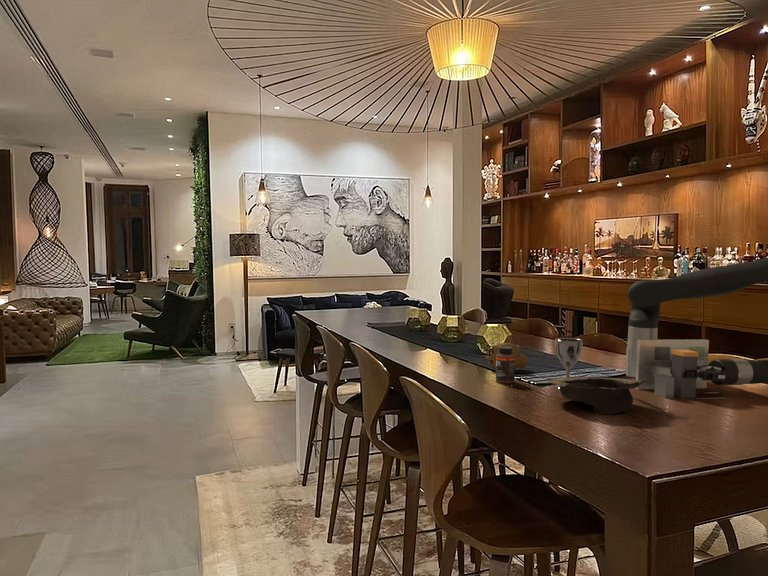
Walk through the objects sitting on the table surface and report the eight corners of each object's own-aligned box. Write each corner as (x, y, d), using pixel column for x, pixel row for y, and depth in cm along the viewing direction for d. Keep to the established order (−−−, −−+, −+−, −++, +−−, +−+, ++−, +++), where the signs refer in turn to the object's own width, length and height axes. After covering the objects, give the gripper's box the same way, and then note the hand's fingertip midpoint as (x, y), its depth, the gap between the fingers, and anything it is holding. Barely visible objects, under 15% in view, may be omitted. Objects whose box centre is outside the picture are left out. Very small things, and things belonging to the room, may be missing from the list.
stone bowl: (638, 423, 141) (636, 385, 140) (536, 414, 154) (534, 379, 154) (652, 402, 162) (650, 368, 161) (561, 395, 175) (560, 365, 175)
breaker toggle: (684, 393, 170) (687, 349, 169) (696, 397, 165) (698, 352, 165) (669, 393, 169) (672, 349, 169) (680, 397, 164) (683, 352, 164)
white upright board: (703, 391, 180) (706, 339, 179) (741, 403, 165) (744, 347, 164) (635, 391, 176) (637, 339, 175) (667, 404, 161) (670, 347, 160)
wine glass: (580, 386, 182) (582, 338, 182) (580, 391, 175) (582, 342, 174) (554, 384, 185) (556, 337, 184) (553, 389, 178) (554, 340, 177)
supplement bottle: (516, 381, 187) (517, 346, 187) (512, 385, 182) (513, 349, 181) (497, 379, 190) (499, 345, 189) (493, 383, 184) (494, 347, 184)
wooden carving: (522, 368, 211) (523, 341, 211) (529, 370, 207) (530, 342, 206) (481, 370, 206) (482, 342, 206) (488, 372, 202) (489, 344, 201)
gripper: (713, 355, 176) (661, 355, 173) (750, 363, 162) (694, 364, 159) (712, 379, 176) (660, 380, 174) (748, 390, 162) (693, 391, 160)
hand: (677, 372), depth 166 cm, fingers closed on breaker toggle, 4 cm apart
